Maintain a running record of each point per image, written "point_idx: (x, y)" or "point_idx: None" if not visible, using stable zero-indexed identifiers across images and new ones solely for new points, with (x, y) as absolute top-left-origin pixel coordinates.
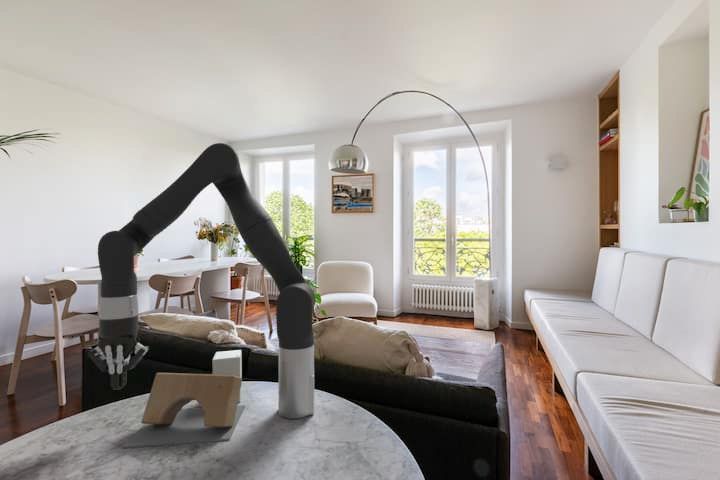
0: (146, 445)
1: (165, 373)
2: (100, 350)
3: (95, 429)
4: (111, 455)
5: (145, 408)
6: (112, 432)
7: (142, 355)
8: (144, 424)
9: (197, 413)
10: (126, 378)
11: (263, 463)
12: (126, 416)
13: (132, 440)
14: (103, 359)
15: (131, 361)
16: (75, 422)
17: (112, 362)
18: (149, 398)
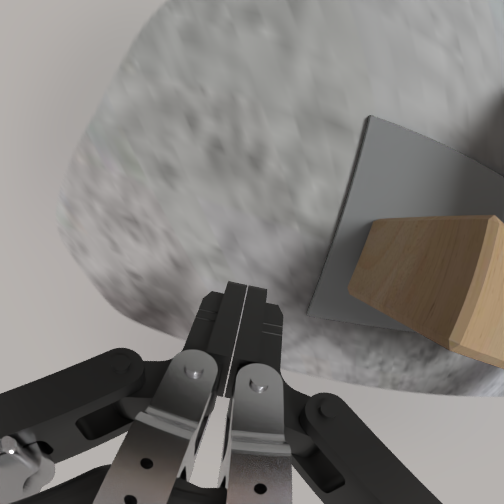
0: (358, 322)
1: (480, 357)
2: (34, 486)
3: (187, 181)
4: (289, 330)
5: (365, 296)
6: (251, 220)
7: (401, 492)
8: (343, 216)
9: (479, 205)
10: (280, 335)
11: (481, 384)
12: (256, 107)
13: (325, 299)
14: (77, 431)
15: (322, 486)
16: (104, 115)
17: (189, 478)
18: (386, 313)
